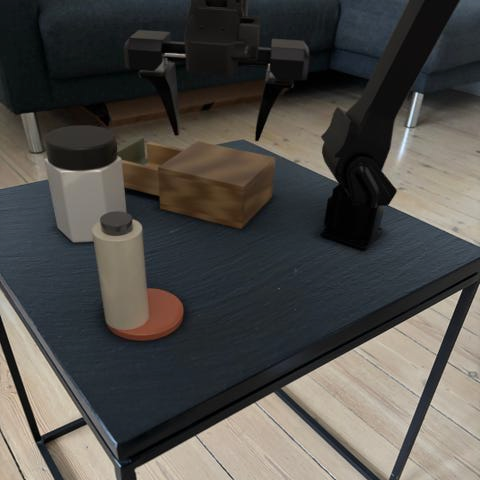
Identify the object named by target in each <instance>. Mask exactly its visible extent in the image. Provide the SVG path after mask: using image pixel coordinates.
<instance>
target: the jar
mask: <svg viewBox="0 0 480 480" xmlns="http://www.w3.org/2000/svg"><path fill="white" fill-rule="evenodd" d="M43 142H44V147H45V152H46V157H45V158H44V165H45V169H46V176H47V180H48V185H49V191H50V196H51V201H52V206H53V211H54V216H55V217H54V218H55V222H56V227H57V229H58V230H59V231H60V232H61V233H62V234H63V235H64V236H66V238H68V240H70V241H71V242H72V243H76V244H77V243H94V241H93V235H92V228H93V226H94V225H95V224H96V223H98V222H100V218H101V216H102V215H104V214H106V213H109V212H114V211H121V212H126V213H128V212H127V202H126V192H125V187H124V181H123V170H122V160H121V158H120V157H119V156H117V147H118V143H117V138H116V135H115V133H114V132H113V131H112V130H110V129H108V128H106V127H101V126H95V125H68V126H63V127H59V128H56V129H54V130H53V129H52V130H51V131H49V132H48V133H46V135H44V138H43Z"/></svg>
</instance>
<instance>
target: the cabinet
mask: <svg viewBox="0 0 480 480" xmlns="http://www.w3.org/2000/svg"><path fill="white" fill-rule="evenodd" d="M275 167H276V156H271V155H266V154H261V153H257V152H252V151H246V150H242V149H237V148H232V147H227V146H224V145H223V146H222V145H217V144H213V143H207V142H203V141H196V142H194V143H193V144H191V145H190V146H188V147H186V148H185V150H184V151H182V152H181V153H179V154H177V155H176V156H174V157H173V158H171V159H170V160H168V161H167V162H165V163H164V164H162V165H161V166H159V167H158V177H159V195H160V196H159V209H160V210H163V211H168V212H172V213H175V214H176V213H177V214H180V215H182V216H183V215H184V216H187V217H192V218H195V219H200V220H203V221H208V222H211V223H215V224H219V225H223V226H227V227H231V228H235V229H238V230H242V229H243V228H244V227H245V226H246V225H247V224H248V223H249V222H250V221H251V219H253V217H254V216H256V214H257V213H258V212H259V211H260V210H261V209H262V208H263V207H265V205H266V204H267V203H268V201H269V200H270V199H272V198H273V189H274V177H275Z"/></svg>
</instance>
